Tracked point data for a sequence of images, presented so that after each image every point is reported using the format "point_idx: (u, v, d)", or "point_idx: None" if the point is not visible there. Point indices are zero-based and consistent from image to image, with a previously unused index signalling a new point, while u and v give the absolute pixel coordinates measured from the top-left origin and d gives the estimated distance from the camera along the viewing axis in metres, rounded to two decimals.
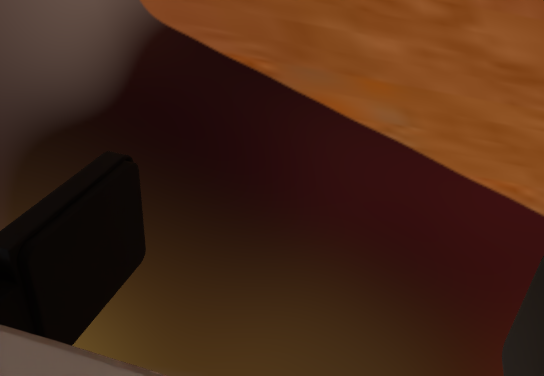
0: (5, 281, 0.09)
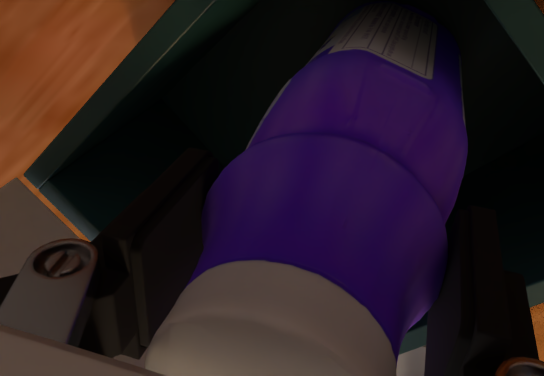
0: (116, 270, 0.09)
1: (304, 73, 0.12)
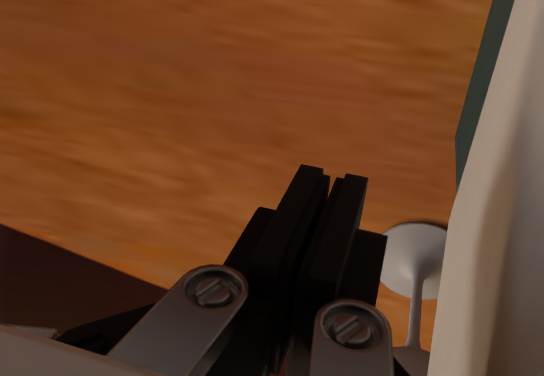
0: (258, 297, 0.09)
1: None
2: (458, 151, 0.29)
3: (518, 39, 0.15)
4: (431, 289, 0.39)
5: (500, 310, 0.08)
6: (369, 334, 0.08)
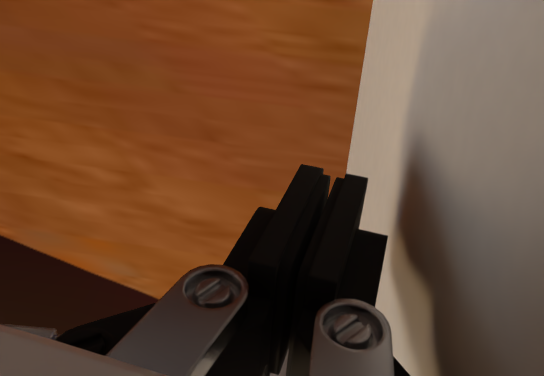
0: (258, 297, 0.09)
1: None
2: None
3: (393, 33, 0.15)
4: None
5: (457, 321, 0.08)
6: (369, 334, 0.08)
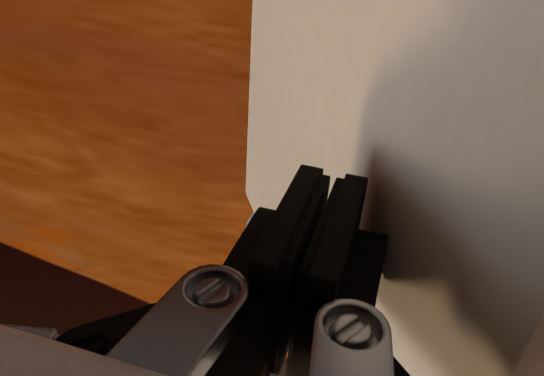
0: (258, 297, 0.09)
1: None
2: None
3: (292, 16, 0.16)
4: None
5: (437, 252, 0.10)
6: (369, 334, 0.08)
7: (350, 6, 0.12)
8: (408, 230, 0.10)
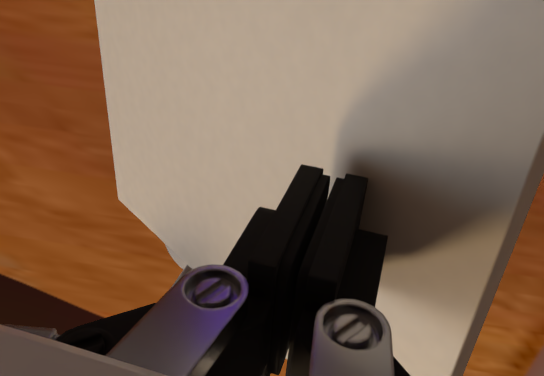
0: (258, 297, 0.09)
1: None
2: None
3: (165, 8, 0.16)
4: None
5: (399, 195, 0.11)
6: (369, 334, 0.08)
7: None
8: None
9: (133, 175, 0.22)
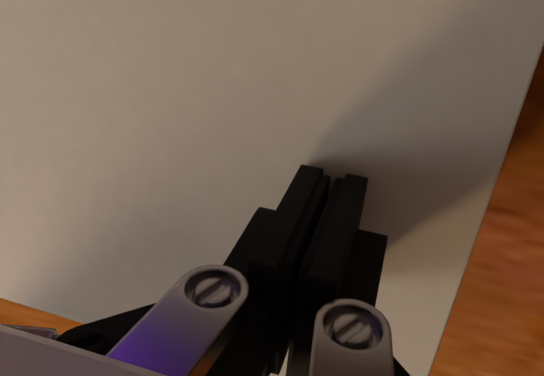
0: (258, 297, 0.09)
1: None
2: None
3: (13, 35, 0.13)
4: None
5: (380, 182, 0.12)
6: (369, 334, 0.08)
7: (163, 5, 0.11)
8: None
9: None
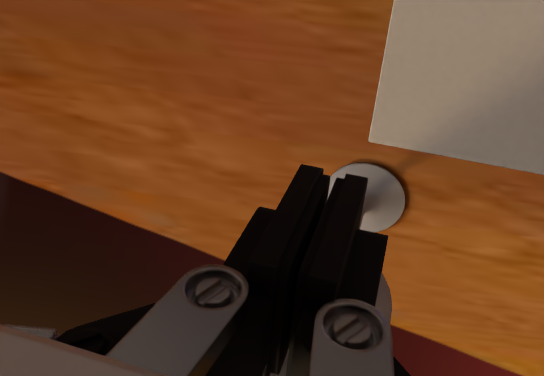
0: (258, 297, 0.09)
1: None
2: None
3: None
4: (374, 222, 0.46)
5: None
6: (369, 334, 0.08)
7: None
8: None
9: (408, 112, 0.30)
